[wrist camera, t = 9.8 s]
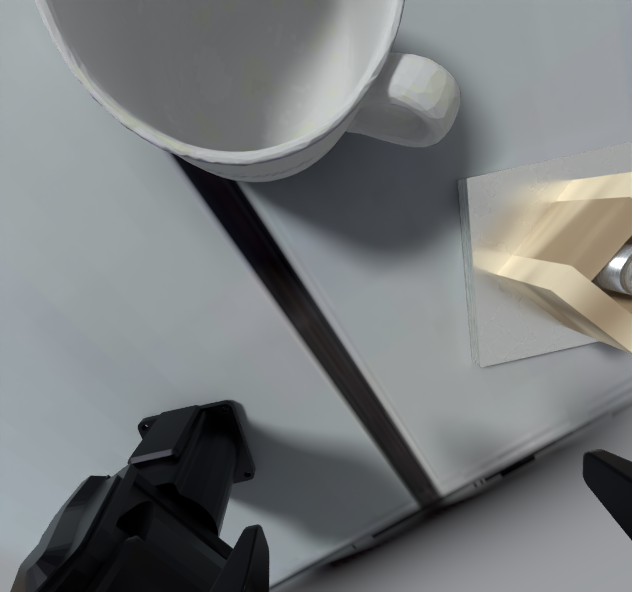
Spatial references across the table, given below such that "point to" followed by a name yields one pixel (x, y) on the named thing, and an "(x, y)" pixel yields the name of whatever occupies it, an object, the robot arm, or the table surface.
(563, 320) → the collar
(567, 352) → the table surface
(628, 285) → the stand
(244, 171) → the teacup
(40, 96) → the table surface
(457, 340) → the table surface
